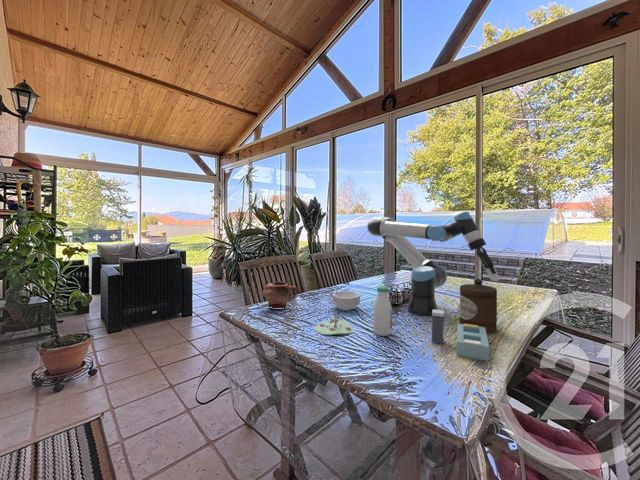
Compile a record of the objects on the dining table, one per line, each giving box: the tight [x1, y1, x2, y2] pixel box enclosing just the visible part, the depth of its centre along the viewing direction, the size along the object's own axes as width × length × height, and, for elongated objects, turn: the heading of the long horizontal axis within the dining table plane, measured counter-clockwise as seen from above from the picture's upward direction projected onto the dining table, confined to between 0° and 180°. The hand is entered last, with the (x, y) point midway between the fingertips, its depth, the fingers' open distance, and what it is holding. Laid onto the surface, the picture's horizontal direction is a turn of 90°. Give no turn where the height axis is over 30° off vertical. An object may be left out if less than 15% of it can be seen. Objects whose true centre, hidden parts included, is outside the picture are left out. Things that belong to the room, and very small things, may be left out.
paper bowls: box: [332, 290, 361, 311], centre depth 159 cm, size 15×15×8 cm
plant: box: [312, 310, 354, 336], centre depth 133 cm, size 25×21×9 cm
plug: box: [431, 309, 445, 345], centre depth 114 cm, size 4×4×12 cm
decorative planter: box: [261, 281, 299, 308], centre depth 161 cm, size 20×12×14 cm, turn 105°
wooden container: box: [458, 278, 498, 334], centre depth 129 cm, size 15×15×22 cm
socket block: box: [456, 323, 490, 362], centre depth 109 cm, size 10×20×5 cm, turn 154°
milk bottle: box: [372, 285, 393, 337], centre depth 123 cm, size 8×8×20 cm
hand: (496, 279), depth 139 cm, fingers open, 13 cm apart
